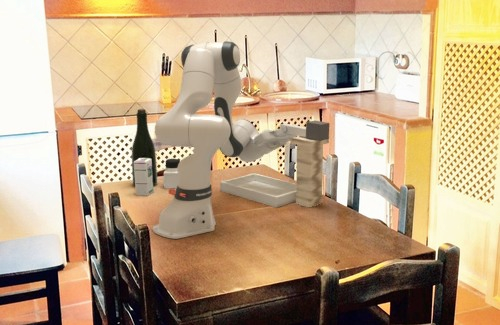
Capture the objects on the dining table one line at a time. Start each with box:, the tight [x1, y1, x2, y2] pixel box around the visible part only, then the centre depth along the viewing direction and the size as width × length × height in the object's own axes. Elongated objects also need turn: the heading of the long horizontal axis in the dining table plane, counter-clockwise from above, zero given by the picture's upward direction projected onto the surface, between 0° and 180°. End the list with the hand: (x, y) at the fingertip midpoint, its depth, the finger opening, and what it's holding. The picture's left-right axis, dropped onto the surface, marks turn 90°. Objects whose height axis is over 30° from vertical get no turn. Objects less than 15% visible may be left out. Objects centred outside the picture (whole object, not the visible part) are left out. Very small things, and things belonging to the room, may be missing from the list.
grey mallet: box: [279, 120, 330, 141], centre depth 231 cm, size 5×21×6 cm, turn 44°
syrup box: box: [134, 158, 154, 197], centre depth 249 cm, size 6×6×14 cm
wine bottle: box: [131, 108, 158, 187], centre depth 260 cm, size 10×10×33 cm
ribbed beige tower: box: [290, 136, 330, 208], centre depth 232 cm, size 10×10×26 cm
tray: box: [219, 172, 296, 208], centre depth 249 cm, size 20×32×4 cm, turn 44°
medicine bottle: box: [163, 158, 181, 190], centre depth 260 cm, size 7×7×12 cm
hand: (289, 127), depth 235 cm, fingers closed on grey mallet, 3 cm apart
